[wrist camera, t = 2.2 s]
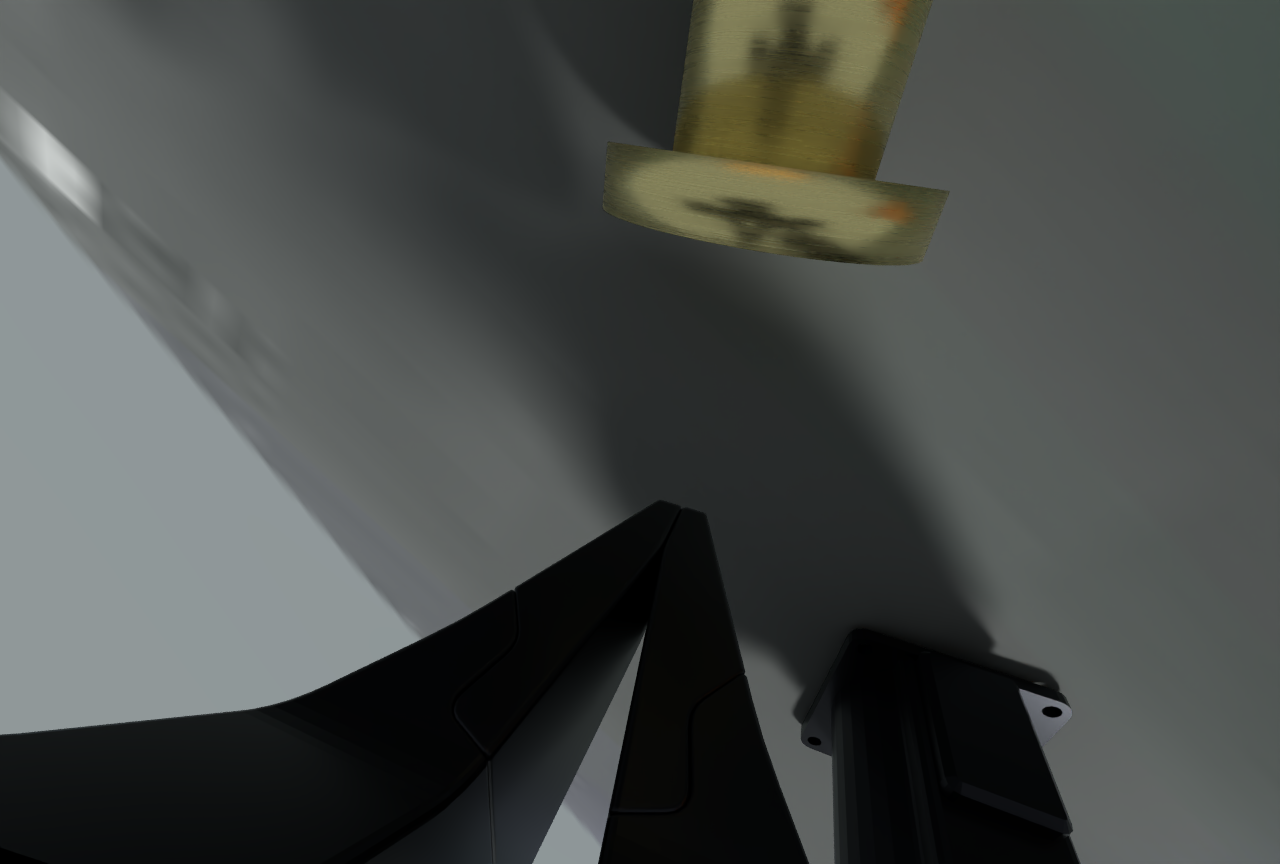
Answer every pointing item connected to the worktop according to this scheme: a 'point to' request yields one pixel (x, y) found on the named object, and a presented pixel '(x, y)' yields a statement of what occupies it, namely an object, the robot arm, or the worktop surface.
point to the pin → (786, 134)
